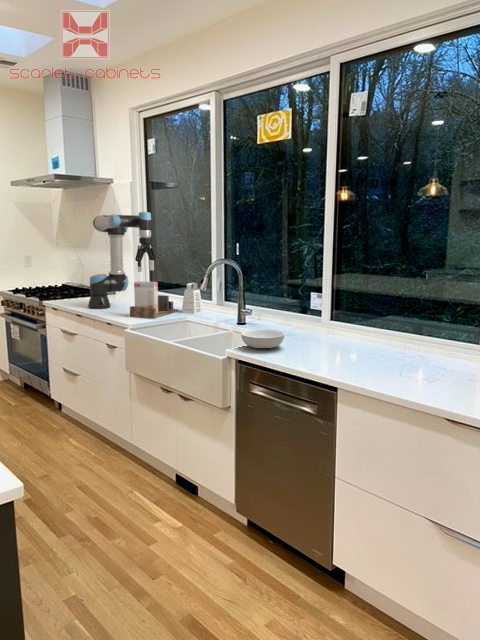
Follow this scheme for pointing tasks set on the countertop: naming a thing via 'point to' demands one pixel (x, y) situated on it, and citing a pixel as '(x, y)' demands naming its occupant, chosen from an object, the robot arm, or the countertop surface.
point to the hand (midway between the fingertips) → (146, 271)
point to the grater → (192, 300)
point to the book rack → (148, 312)
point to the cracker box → (146, 294)
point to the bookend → (164, 303)
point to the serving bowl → (262, 338)
